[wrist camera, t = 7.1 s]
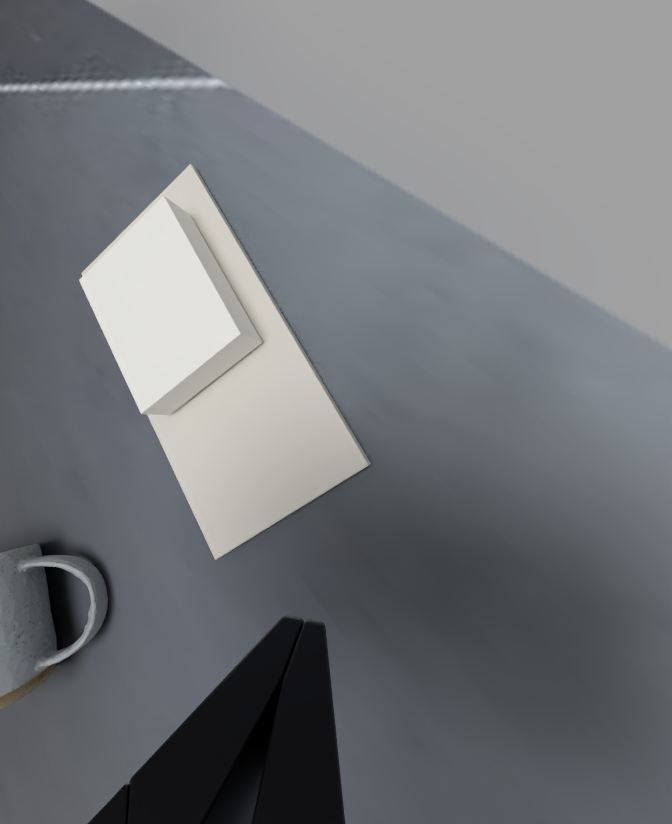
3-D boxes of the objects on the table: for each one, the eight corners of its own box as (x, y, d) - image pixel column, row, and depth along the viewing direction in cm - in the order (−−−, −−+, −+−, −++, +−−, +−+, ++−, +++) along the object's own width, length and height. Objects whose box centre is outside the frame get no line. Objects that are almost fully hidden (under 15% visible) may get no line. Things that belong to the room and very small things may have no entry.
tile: (240, 333, 19) (163, 195, 21) (141, 413, 21) (79, 280, 23) (264, 343, 21) (192, 216, 23) (172, 415, 23) (113, 292, 25)
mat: (371, 464, 20) (368, 465, 19) (221, 557, 22) (215, 559, 22) (196, 169, 24) (190, 163, 24) (88, 276, 27) (81, 273, 26)
